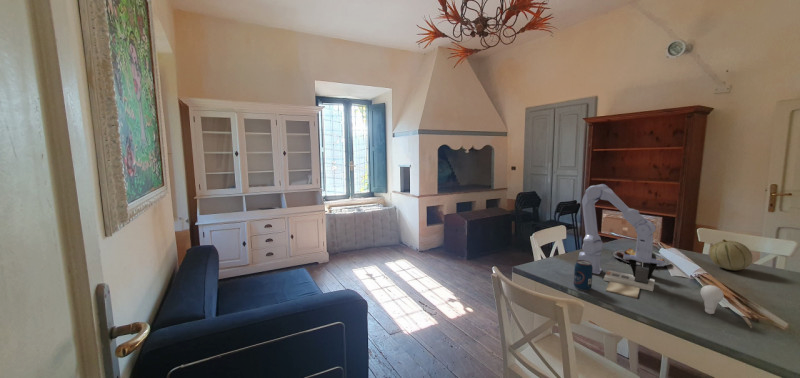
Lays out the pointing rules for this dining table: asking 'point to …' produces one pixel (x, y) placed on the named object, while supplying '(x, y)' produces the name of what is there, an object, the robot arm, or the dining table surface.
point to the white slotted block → (628, 280)
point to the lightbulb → (711, 297)
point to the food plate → (620, 254)
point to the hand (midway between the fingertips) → (641, 277)
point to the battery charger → (648, 263)
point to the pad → (623, 289)
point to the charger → (641, 274)
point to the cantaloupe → (731, 255)
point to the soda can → (583, 275)
